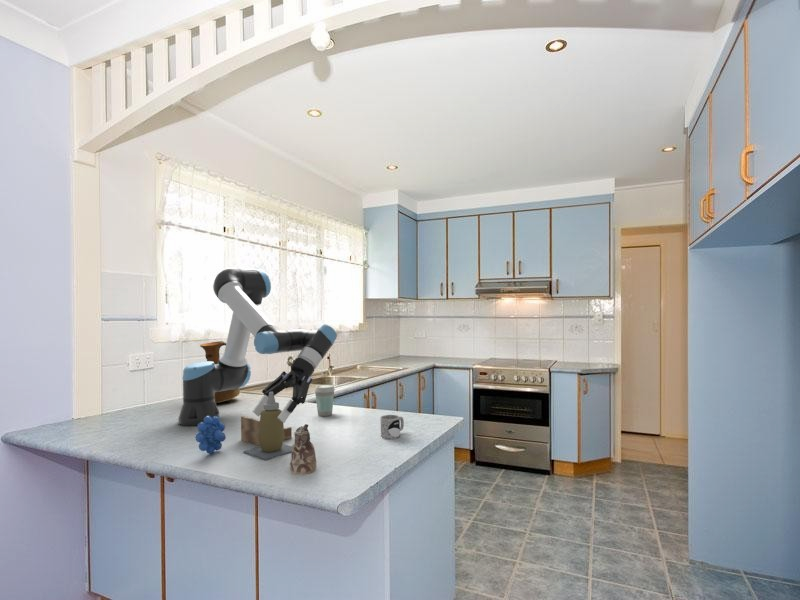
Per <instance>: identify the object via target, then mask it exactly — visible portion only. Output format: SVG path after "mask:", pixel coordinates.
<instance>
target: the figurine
mask: <svg viewBox="0 0 800 600" xmlns="http://www.w3.org/2000/svg"><path fill="white" fill-rule="evenodd" d="M308 428H309V424H306V423H305V424H304V426H299V427H298V428H297V429H296V430H295V431H294V434H293V435H294V444H292V445H291V446H292V447H293V448H292V452H291V455H290V462H289V468H290V469H289V470H290V472H291V474H292V473H293V474H292V475H297V474H301V475H308V474H309V475H310V474H312V473H314V472H315V471H316V469H317V457H316V450H315V446H314V444H313V443H312V442H311V437H310V436H311V434H310V432H309V429H308Z"/></svg>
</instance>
